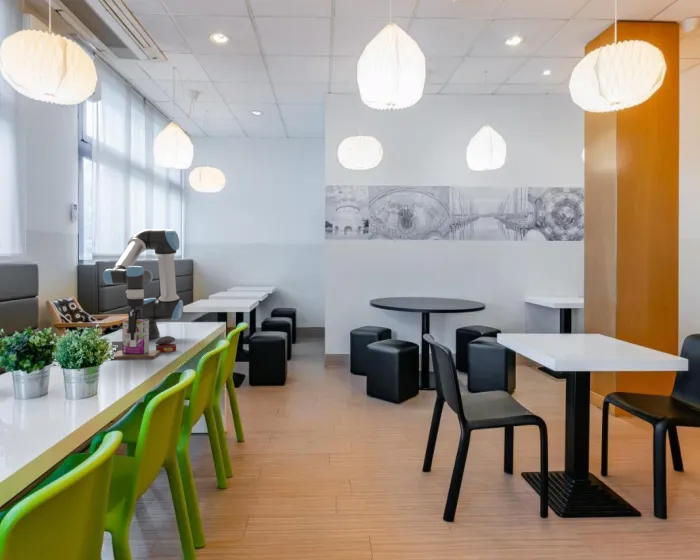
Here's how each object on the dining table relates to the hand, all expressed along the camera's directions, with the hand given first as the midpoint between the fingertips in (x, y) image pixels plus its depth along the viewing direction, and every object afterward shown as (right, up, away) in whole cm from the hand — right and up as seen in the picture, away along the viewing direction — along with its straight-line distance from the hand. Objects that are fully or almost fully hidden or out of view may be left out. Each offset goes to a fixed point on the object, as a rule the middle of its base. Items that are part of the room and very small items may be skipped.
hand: (135, 345), depth 229 cm
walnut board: (0, -6, 0) cm, 6 cm away
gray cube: (-15, -5, +14) cm, 21 cm away
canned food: (+9, -5, +15) cm, 18 cm away
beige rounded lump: (+6, -4, +23) cm, 24 cm away
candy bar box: (0, -4, 0) cm, 4 cm away
